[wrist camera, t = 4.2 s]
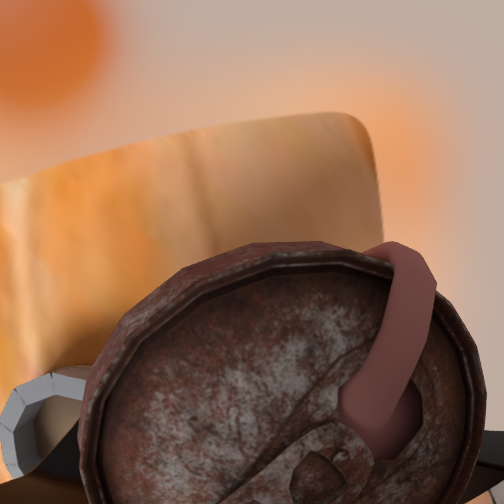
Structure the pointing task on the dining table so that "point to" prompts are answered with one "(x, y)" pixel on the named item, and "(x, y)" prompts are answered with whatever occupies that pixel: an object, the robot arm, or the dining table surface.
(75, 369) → the segmented gray ring
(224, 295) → the can
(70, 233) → the dining table surface
